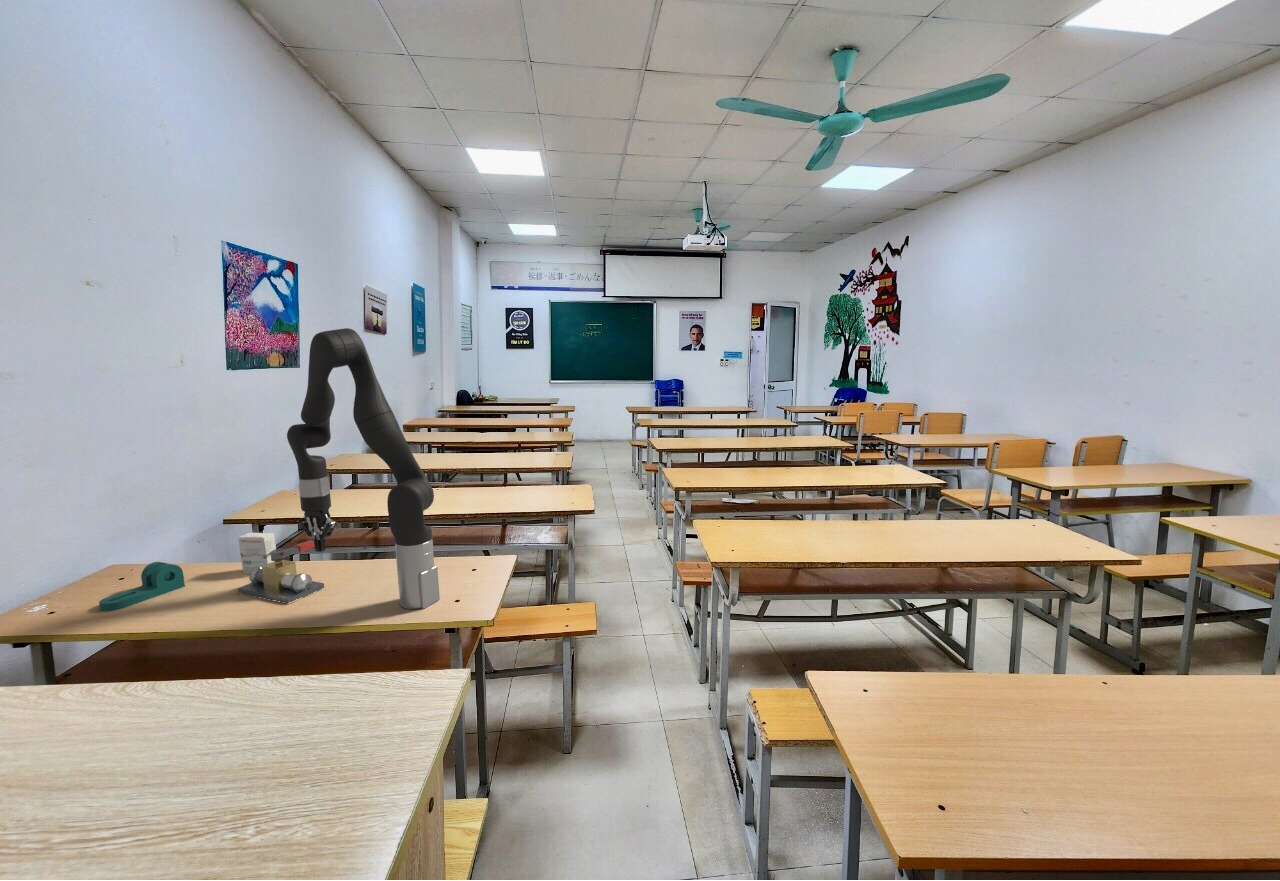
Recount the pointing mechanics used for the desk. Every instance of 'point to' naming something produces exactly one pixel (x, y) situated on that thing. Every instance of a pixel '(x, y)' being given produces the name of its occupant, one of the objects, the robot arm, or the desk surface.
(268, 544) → the ink box
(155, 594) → the bracket
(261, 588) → the valve pipe
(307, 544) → the valve lever
